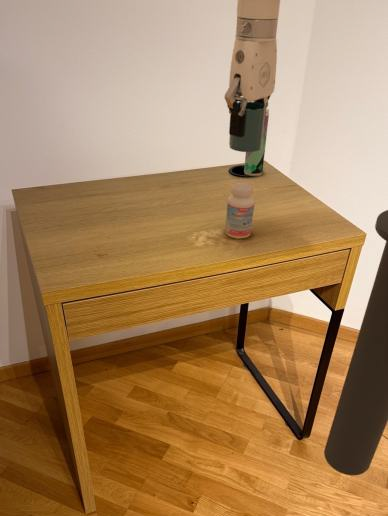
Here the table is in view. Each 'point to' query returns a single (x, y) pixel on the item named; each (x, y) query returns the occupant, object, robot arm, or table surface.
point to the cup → (250, 129)
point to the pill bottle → (240, 211)
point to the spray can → (256, 155)
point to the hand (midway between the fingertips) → (246, 131)
